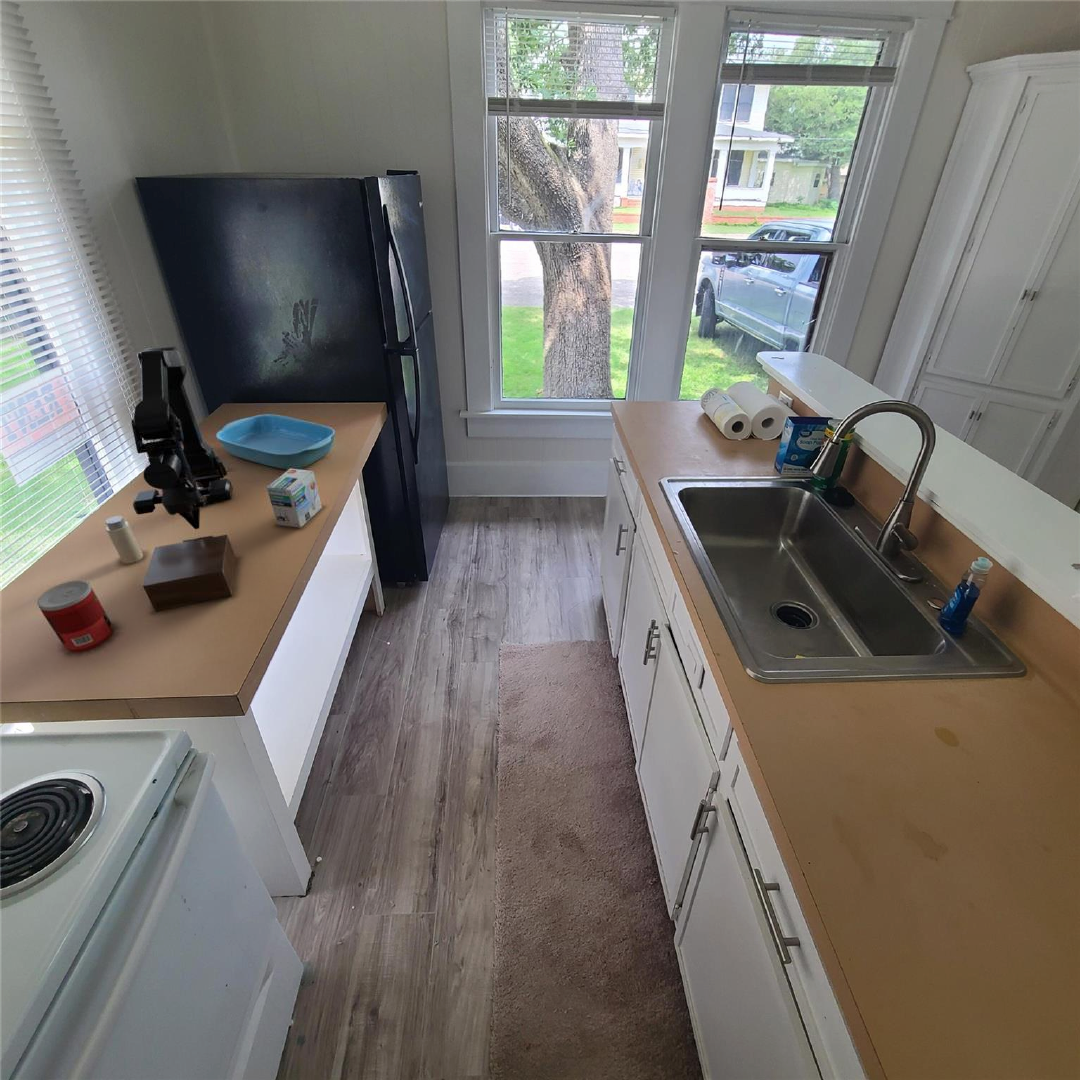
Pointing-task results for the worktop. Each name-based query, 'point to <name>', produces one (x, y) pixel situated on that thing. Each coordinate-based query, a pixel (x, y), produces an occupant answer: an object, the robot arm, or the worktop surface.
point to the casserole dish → (277, 440)
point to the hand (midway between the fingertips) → (197, 528)
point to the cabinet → (190, 573)
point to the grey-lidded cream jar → (123, 539)
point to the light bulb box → (294, 497)
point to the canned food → (76, 615)
